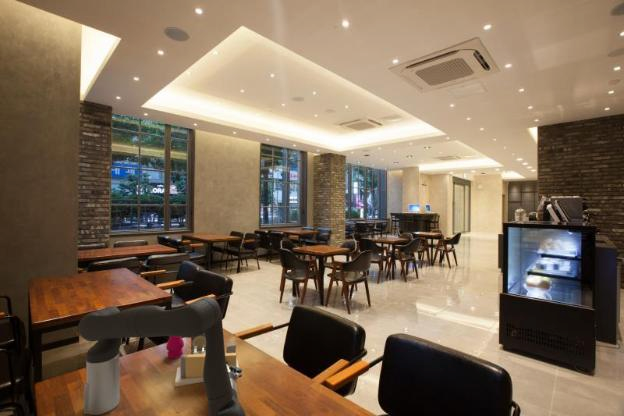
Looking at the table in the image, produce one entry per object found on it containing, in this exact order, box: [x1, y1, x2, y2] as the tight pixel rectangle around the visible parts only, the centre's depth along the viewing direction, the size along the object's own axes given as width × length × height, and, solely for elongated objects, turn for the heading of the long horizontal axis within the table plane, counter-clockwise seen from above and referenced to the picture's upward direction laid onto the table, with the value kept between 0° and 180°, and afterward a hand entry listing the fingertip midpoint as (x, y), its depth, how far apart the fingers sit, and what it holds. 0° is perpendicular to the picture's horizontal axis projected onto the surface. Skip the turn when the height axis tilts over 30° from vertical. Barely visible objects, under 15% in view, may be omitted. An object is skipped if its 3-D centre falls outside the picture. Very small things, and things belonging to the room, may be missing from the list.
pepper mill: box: [166, 336, 185, 359], centre depth 137 cm, size 7×7×20 cm
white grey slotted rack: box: [174, 341, 240, 387], centre depth 123 cm, size 24×11×10 cm, turn 110°
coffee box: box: [190, 334, 206, 355], centre depth 136 cm, size 9×6×16 cm
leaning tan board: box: [179, 352, 238, 378], centre depth 119 cm, size 21×3×8 cm, turn 96°
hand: (223, 363), depth 118 cm, fingers closed
